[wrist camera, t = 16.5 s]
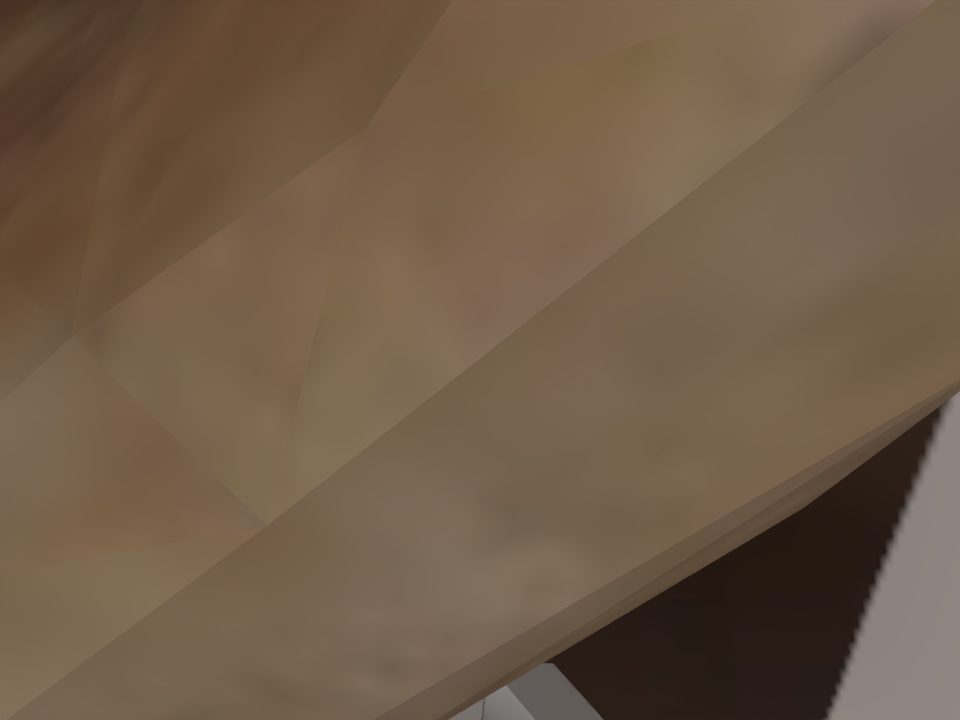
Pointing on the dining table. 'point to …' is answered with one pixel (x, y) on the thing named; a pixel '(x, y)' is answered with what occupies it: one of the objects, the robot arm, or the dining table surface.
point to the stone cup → (439, 326)
